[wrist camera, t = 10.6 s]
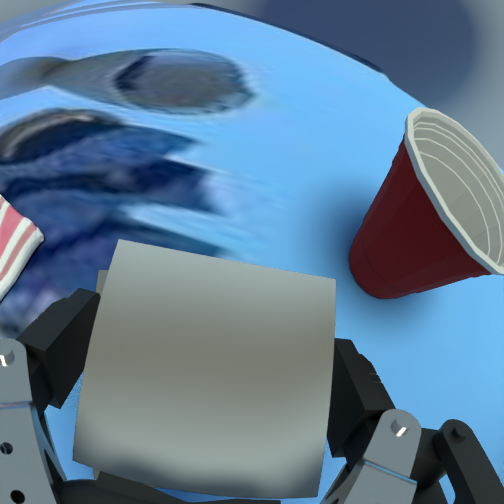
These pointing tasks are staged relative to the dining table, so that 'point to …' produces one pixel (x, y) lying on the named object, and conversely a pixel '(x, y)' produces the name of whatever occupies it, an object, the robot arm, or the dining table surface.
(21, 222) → the dish towel
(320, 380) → the stool
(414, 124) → the plastic cup
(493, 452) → the dining table surface
